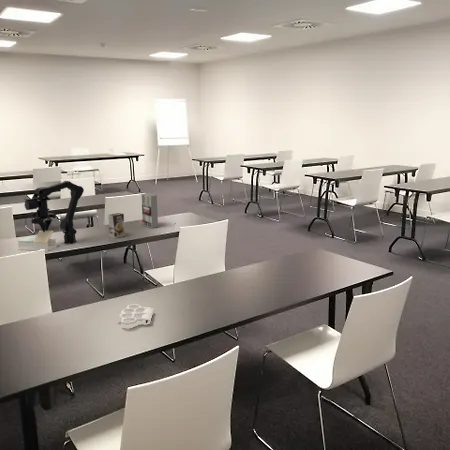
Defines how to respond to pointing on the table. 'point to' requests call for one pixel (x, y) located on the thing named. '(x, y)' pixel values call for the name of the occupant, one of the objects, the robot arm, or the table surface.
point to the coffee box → (116, 225)
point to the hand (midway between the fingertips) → (45, 231)
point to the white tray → (37, 245)
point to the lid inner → (43, 236)
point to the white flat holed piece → (145, 314)
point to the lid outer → (27, 239)
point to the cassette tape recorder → (149, 210)
